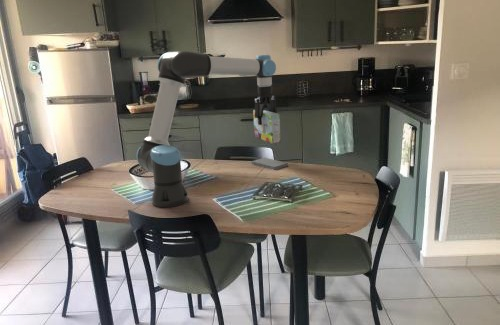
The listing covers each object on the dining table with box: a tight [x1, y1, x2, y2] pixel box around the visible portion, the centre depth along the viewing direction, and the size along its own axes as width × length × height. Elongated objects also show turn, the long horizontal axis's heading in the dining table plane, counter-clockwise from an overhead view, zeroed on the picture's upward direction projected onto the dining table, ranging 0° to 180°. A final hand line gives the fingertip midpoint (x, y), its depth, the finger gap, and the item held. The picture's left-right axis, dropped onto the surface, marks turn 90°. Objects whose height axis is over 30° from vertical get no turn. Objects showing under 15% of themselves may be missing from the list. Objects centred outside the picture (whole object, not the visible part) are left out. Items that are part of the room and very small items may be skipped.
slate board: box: [251, 157, 289, 171], centre depth 219 cm, size 18×10×2 cm, turn 41°
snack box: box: [252, 109, 281, 145], centre depth 213 cm, size 21×6×15 cm, turn 26°
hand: (266, 129), depth 213 cm, fingers closed on snack box, 7 cm apart
